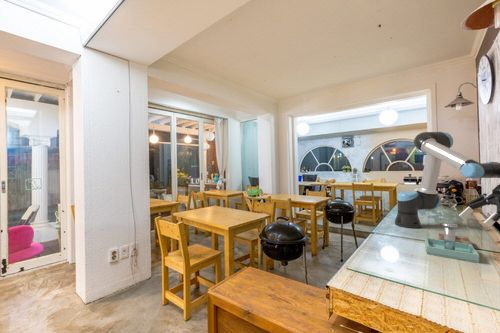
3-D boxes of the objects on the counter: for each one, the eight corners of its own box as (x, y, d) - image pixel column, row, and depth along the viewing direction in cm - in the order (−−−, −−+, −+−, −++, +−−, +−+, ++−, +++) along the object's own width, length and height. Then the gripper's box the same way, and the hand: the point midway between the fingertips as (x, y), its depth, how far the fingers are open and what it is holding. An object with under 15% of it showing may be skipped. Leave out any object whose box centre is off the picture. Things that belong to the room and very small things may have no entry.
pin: (442, 251, 110) (443, 224, 110) (441, 247, 115) (441, 221, 115) (458, 253, 107) (458, 226, 107) (456, 249, 112) (456, 223, 111)
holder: (441, 244, 121) (441, 239, 121) (438, 238, 131) (438, 233, 131) (472, 249, 114) (472, 243, 114) (467, 242, 124) (467, 237, 124)
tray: (426, 254, 110) (427, 246, 110) (425, 244, 123) (425, 237, 123) (479, 263, 99) (479, 255, 99) (471, 251, 113) (471, 244, 112)
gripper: (545, 199, 96) (505, 234, 97) (488, 191, 121) (457, 219, 122) (531, 187, 96) (492, 222, 98) (477, 181, 121) (447, 209, 123)
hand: (472, 220), depth 110 cm, fingers open, 13 cm apart
